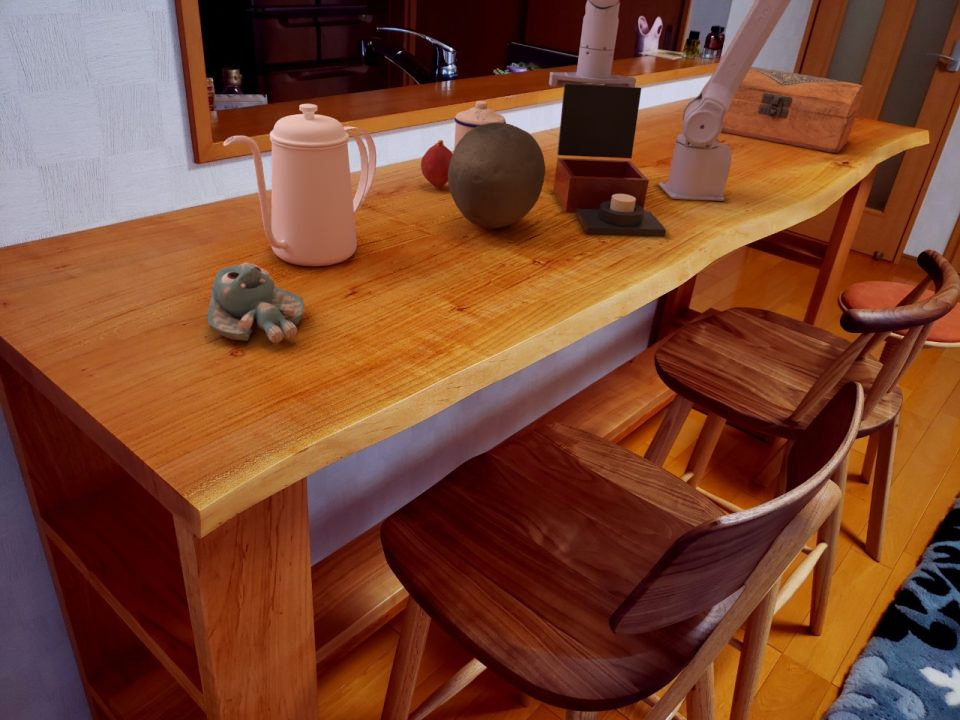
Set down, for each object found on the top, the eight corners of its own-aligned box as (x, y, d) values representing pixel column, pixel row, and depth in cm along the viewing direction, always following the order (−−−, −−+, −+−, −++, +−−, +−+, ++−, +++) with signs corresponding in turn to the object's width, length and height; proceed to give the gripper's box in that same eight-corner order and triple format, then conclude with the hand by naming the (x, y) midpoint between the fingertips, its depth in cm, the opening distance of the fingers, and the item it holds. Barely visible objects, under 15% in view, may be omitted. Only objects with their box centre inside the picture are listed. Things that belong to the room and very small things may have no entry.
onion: (413, 186, 125) (414, 137, 120) (437, 180, 128) (439, 133, 124) (437, 195, 121) (439, 146, 117) (462, 189, 125) (465, 141, 121)
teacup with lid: (474, 178, 131) (479, 110, 125) (441, 165, 136) (444, 98, 130) (523, 168, 138) (530, 103, 132) (490, 156, 143) (495, 93, 137)
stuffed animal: (237, 318, 70) (178, 254, 76) (237, 375, 75) (182, 310, 81) (334, 289, 77) (273, 233, 83) (329, 344, 81) (271, 286, 87)
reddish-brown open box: (642, 215, 120) (649, 180, 117) (565, 213, 118) (570, 177, 116) (624, 194, 129) (630, 160, 126) (553, 191, 128) (557, 157, 125)
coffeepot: (206, 272, 91) (186, 113, 81) (344, 218, 109) (340, 84, 100) (272, 297, 86) (259, 132, 77) (403, 237, 105) (406, 98, 95)
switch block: (648, 218, 119) (652, 200, 118) (664, 237, 112) (668, 218, 111) (575, 216, 118) (577, 197, 116) (586, 234, 111) (589, 215, 109)
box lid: (641, 87, 121) (640, 87, 122) (565, 83, 119) (564, 83, 120) (631, 158, 126) (630, 157, 126) (558, 155, 124) (557, 154, 125)
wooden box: (702, 129, 176) (716, 67, 169) (722, 118, 188) (736, 59, 181) (836, 156, 163) (857, 89, 156) (848, 142, 175) (868, 80, 168)
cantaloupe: (430, 215, 113) (434, 113, 106) (514, 208, 118) (524, 111, 111) (465, 251, 102) (473, 140, 95) (556, 242, 108) (570, 136, 100)
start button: (629, 206, 115) (632, 194, 114) (636, 214, 112) (638, 202, 111) (607, 205, 115) (609, 193, 114) (613, 213, 112) (615, 201, 111)
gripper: (632, 46, 128) (619, 127, 135) (549, 41, 127) (540, 123, 133) (644, 53, 122) (630, 137, 129) (557, 47, 121) (547, 133, 127)
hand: (585, 130), depth 131 cm, fingers closed
